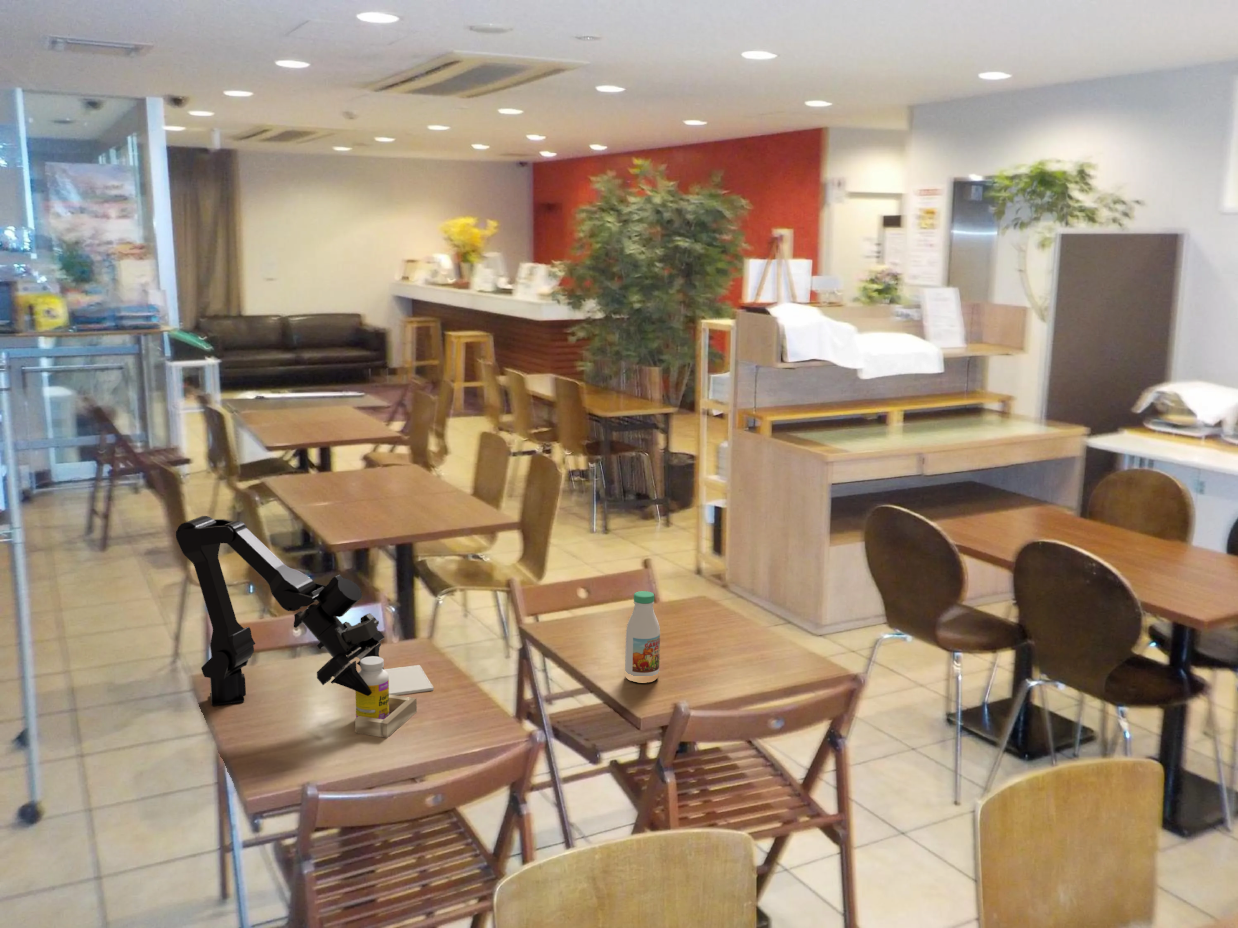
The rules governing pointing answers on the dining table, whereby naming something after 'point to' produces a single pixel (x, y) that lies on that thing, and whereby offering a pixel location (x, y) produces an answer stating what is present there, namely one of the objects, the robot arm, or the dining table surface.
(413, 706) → the bottle cradle
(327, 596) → the robot arm
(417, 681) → the white mat
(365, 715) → the supplement bottle
